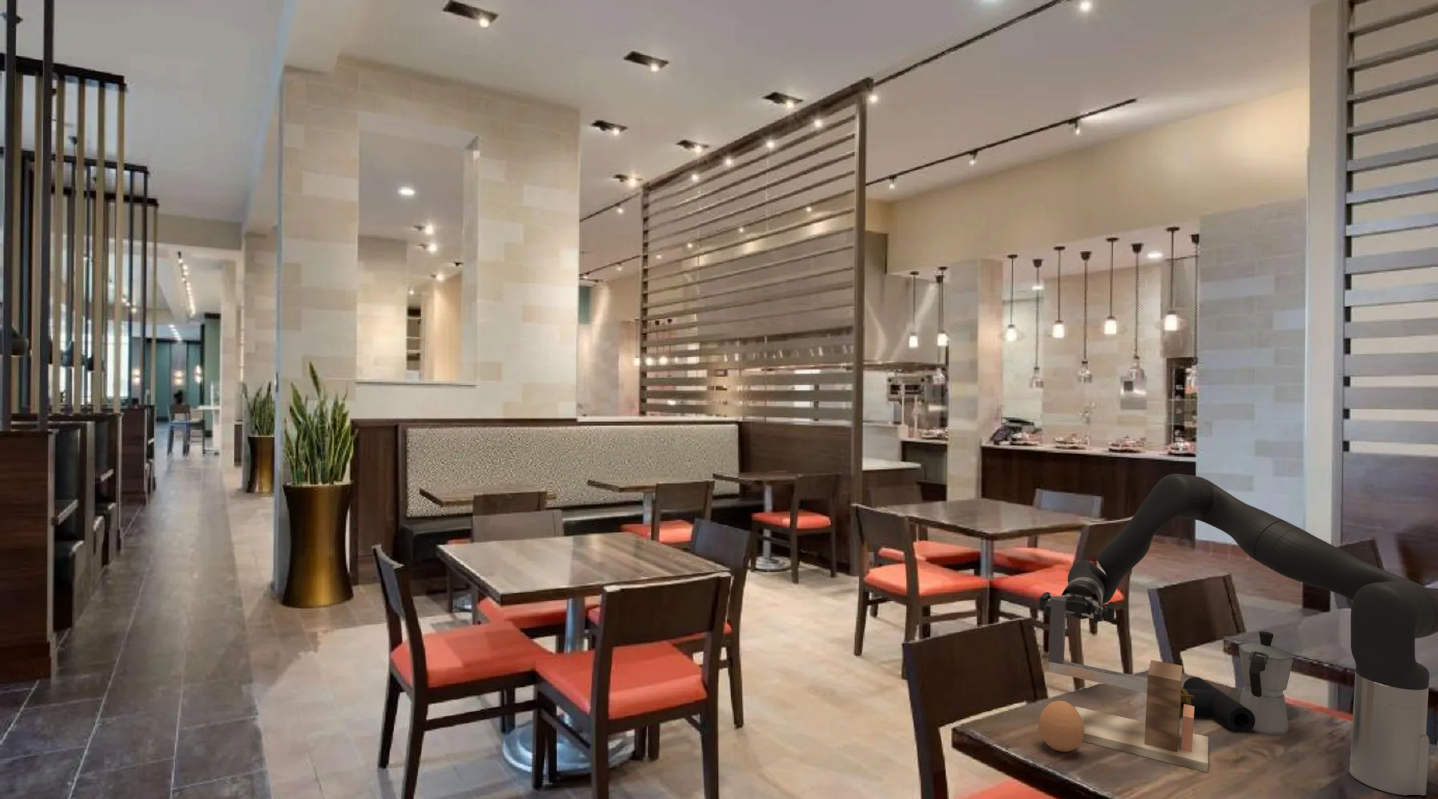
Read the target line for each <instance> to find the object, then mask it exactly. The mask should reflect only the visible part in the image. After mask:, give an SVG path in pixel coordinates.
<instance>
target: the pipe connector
mask: <svg viewBox="0 0 1438 799" xmlns="http://www.w3.org/2000/svg"><path fill="white" fill-rule="evenodd" d="M1184 704H1186V705H1190V706H1194V717H1203V718H1214V719H1215V720H1217V721H1218V722H1220V723H1221V724H1223V725H1225V727H1226V728H1228V729H1229V730H1231V731H1233V733H1243V734H1244V733H1246V734H1247V733H1249V732H1251V731H1253V730H1252V729H1253V727H1254V725H1255V716H1254V714H1253V713H1252V712H1251V711H1250V710H1249V709H1247V708H1246V707H1244V706H1243V705H1241V704H1240V703H1239V702H1238V701H1237V700H1235V699H1233V698H1232V697H1230V696H1229V695H1227V694H1225V692H1223V691H1221V690H1220V689H1218V688H1216V686H1213V685H1212V684H1211V683H1209V682H1207V681H1206V680H1204V679H1203V678H1201V677H1199V676H1193V677H1189V678H1188V679H1186V681H1184V683H1183V685H1182V687H1181V704H1180V717H1183V709H1184Z"/></svg>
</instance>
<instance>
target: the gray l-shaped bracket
mask: <svg viewBox="0 0 1438 799" xmlns="http://www.w3.org/2000/svg"><path fill="white" fill-rule="evenodd" d="M1056 596H1057V595H1056ZM1056 596H1055V595H1053V596H1052V599H1051V615H1049V616H1050V619H1049V620H1050V621H1049V638H1048V639H1049V641H1048V643H1049V644H1048V657H1047V658H1048V659H1047V660H1048V662H1049V669H1048V672H1049V673H1051V674H1057V675H1061V676H1067V677H1071V678H1077V679H1081V680H1084V681H1085V680H1086V681H1091V682H1094V683H1099V684H1104V685H1108V686H1114V687H1118V688H1122V689H1129V690H1131V691H1137V692H1140V693H1141V692H1142V693H1145V694H1147V682H1148V677H1144V676H1138V675H1134V674H1130V673H1124V672H1119V671H1114V670H1109V669H1105V668H1100V667H1096V666H1090V665H1085V664H1081V663H1075V662H1071V661H1070V662H1069V661H1065V648H1066V647H1065V646H1066V625H1067V624H1066V623H1067V613H1066V607H1067V598H1062V597H1056Z"/></svg>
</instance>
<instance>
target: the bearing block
mask: <svg viewBox="0 0 1438 799" xmlns="http://www.w3.org/2000/svg"><path fill="white" fill-rule="evenodd" d="M1147 678H1148V682H1147V693H1146V706H1145V707H1146V708H1145V721H1140V720H1137V719H1132V718H1127V717H1124V716H1118V715H1115V714H1111V713H1110V714H1109V713H1106V712H1102V711H1097V710H1094V709H1093V710H1092V709H1089V708H1085V707H1080V706H1075V707H1074V708H1075V709H1076V710H1077V711H1078V713H1079V714H1080V716H1081V719H1082V721H1083V725H1084V737H1083V740H1082V742H1084V741H1085V743H1089V744H1092V743H1093V744H1092V745H1097V746H1101V747H1104V748H1108V749H1112V750H1116V751H1120V752H1125V753H1128V754H1132V755H1137V756H1141V757H1144V758H1149V759H1152V760H1156V761H1160V762H1164V763H1168V764H1172V765H1176V766H1177V765H1178V766H1179V767H1180V766H1181V767H1185V768H1189V769H1193V770H1197V771H1201V772H1204V773H1208V771H1209V736H1207V735H1201V734H1197V733H1194V732H1193V742H1192V752H1188V751H1183V750H1181V742H1182V729H1181V730H1180V722H1181V719H1180V718H1181V716H1180V704H1181V688H1182V686H1183V685H1182V682H1183V680H1182V679H1183V665H1181V664H1180V665H1179V664H1174V663H1169V662H1165V661H1159V660H1154V659H1153V660H1152V659H1151V660H1150V662H1149V667H1148V672H1147Z"/></svg>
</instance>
